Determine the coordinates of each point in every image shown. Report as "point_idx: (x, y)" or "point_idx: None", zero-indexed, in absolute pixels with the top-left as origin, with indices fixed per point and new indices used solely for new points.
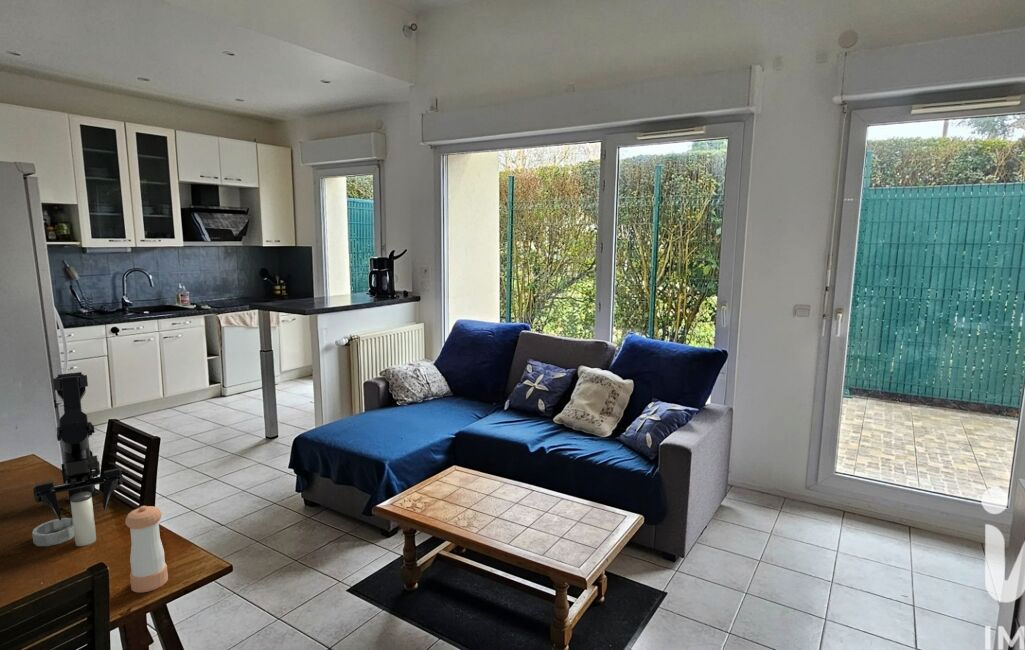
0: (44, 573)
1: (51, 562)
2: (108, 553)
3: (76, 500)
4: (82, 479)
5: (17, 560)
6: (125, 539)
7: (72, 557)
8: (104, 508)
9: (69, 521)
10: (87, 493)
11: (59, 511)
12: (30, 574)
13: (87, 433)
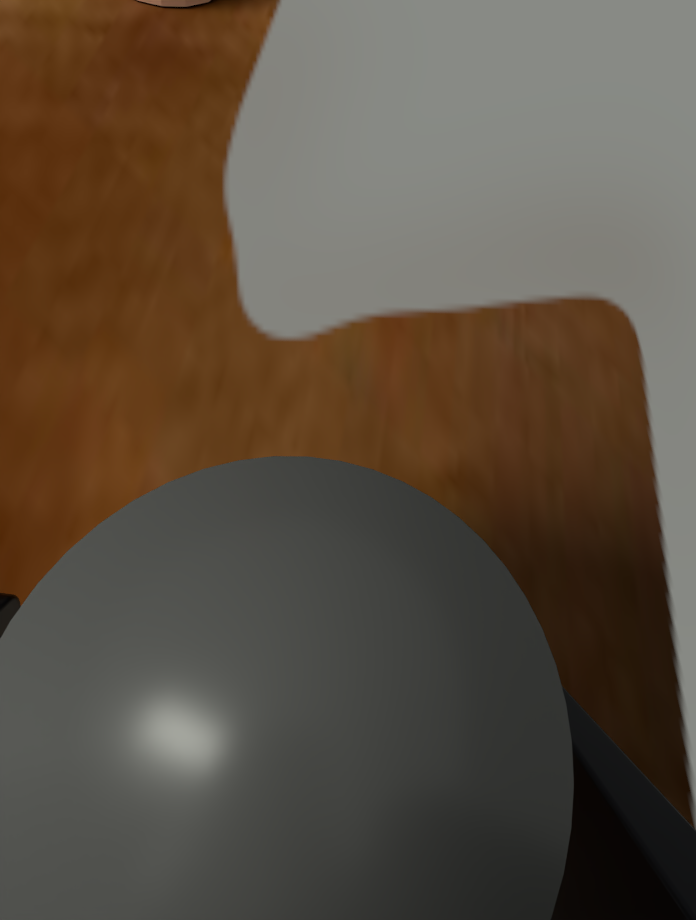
0: (512, 373)
1: (479, 474)
2: (212, 339)
3: (428, 504)
4: None
5: (638, 657)
6: (63, 449)
7: (381, 447)
8: (2, 596)
9: None
10: (67, 803)
11: (589, 753)
12: (568, 415)
13: None
